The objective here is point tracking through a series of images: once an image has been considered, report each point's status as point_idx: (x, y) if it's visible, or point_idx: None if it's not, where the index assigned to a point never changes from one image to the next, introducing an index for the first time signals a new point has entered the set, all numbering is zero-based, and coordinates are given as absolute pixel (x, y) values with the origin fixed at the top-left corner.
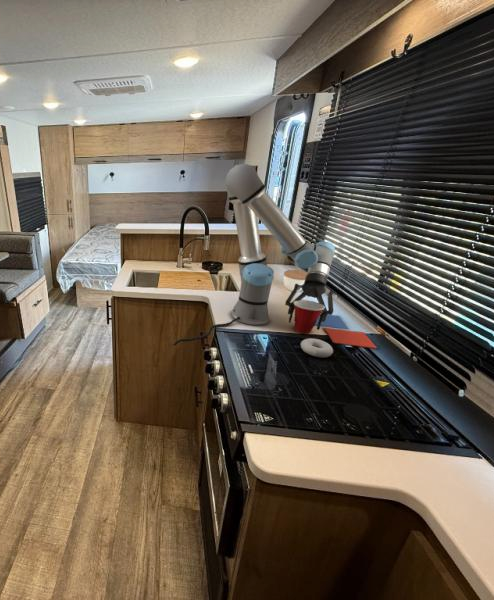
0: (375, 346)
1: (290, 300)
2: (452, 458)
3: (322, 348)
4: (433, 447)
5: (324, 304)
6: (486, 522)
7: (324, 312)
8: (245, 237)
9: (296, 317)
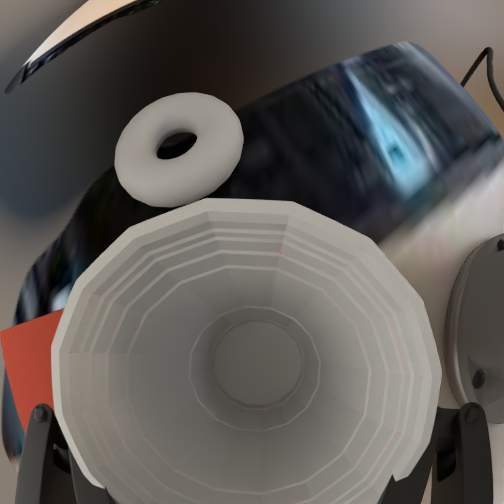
0: (2, 342)
1: (443, 480)
2: (59, 40)
3: (154, 109)
4: (68, 39)
5: (77, 485)
6: (83, 7)
7: None
8: None
9: (322, 320)
